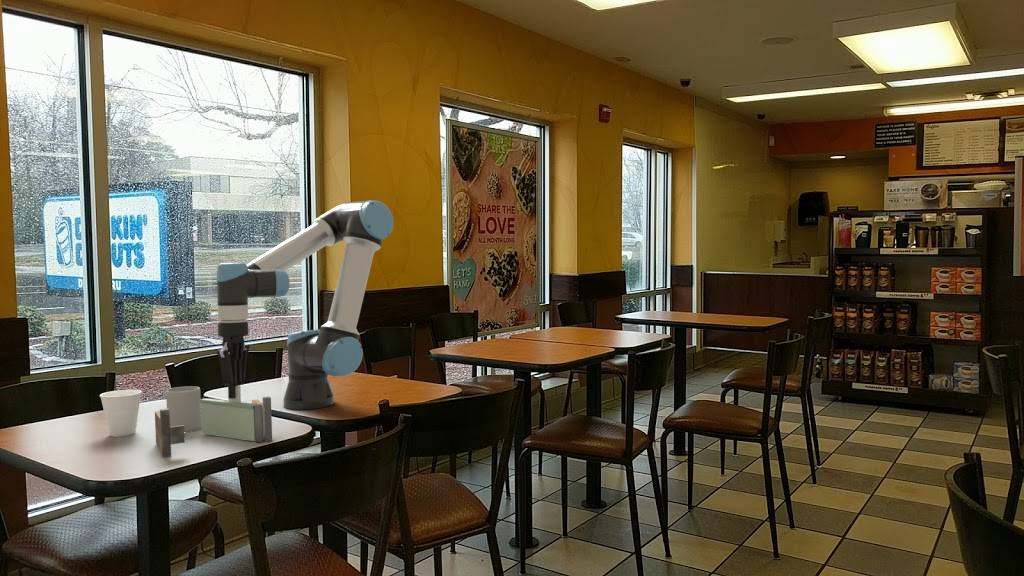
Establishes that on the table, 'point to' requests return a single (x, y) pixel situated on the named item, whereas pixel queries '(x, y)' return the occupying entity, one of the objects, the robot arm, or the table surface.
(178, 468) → the table surface
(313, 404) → the robot arm
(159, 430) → the post
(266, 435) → the hinge post
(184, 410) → the mug
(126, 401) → the cup
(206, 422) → the gate
